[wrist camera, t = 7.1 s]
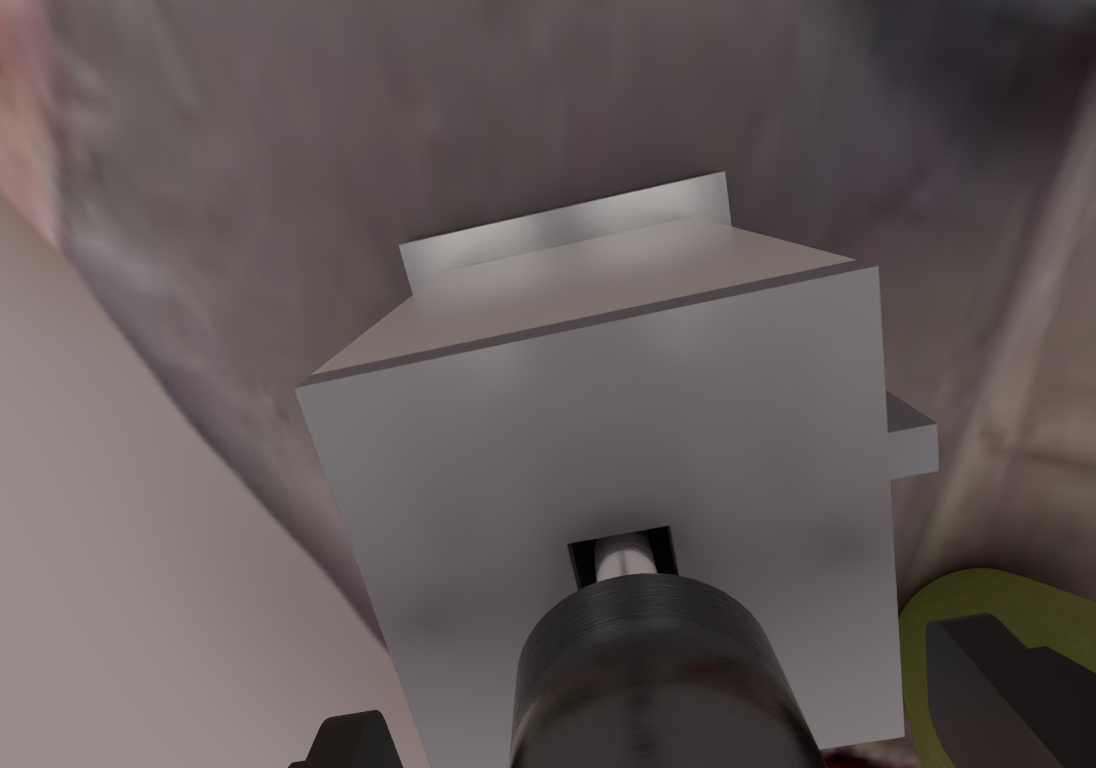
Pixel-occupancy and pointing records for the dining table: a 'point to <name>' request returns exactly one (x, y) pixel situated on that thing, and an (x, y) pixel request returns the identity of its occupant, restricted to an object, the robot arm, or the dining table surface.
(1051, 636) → the flower pot
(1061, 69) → the dining table surface
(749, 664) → the plunger
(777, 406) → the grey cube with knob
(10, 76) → the dining table surface
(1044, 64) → the dining table surface
